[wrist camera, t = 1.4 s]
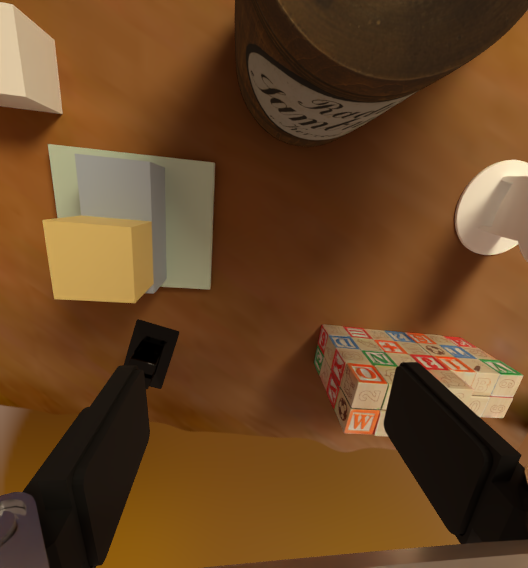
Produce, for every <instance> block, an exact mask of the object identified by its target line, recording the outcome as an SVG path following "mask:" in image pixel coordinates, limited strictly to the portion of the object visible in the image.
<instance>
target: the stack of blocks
mask: <svg viewBox="0 0 528 568" xmlns="http://www.w3.org/2000/svg"><path fill="white" fill-rule="evenodd" d="M402 362H418V363H420V364H421V365H422V366H423V367H424V368H426V369H427V370H428V371H429V372H430V373H431V374H432V375H433V376H434V377H435V378H437V379H438V380H439V381H440V382H441V383H442V384H443V385H444V386H445V387H447V388H448V389H449V390H450V391H451V392H452V393H453V394H454V395H455V396H457V397H458V398H459V399H460V400H461V401H462V402H463V403H464V404H465V405H467V406H468V407H469V408H470V409H471V410H472V411H473V412H474V413H475V414H476V415H478V416H479V417H492V418H503V417H504V416H505V414H506V411H507V409H508V408H509V406H510V404H511V402H512V400H513V396H514V394H515V392H516V390H517V388H518V386H519V384H520V382H521V380H522V378H523V375H522V374H521V373H519V372H518V371H516V370H514V369H513V368H511V367H510V366H508V365H506V364H505V363H503V362H501V361H499V360H496V359H495V358H493V357H492V356H490V355H489V354H487V353H486V352H484V351H482V350H481V349H479V348H477V347H475V346H474V345H472V344H471V343H469V342H467V341H466V340H464V339H462V338H460V337H447V336H441V335H431V334H421V333H411V332H404V333H403V332H394V331H382V330H370V329H363V328H354V327H342V326H335V325H324V324H323V325H322V326H321V330H320V335H319V340H318V346H317V350H316V355H315V359H314V365H315V367H316V370H317V372H318V374H319V376H320V378H321V381H322V383H323V385H324V388H325V390H326V393H327V396H328V398H329V400H330V403H331V404H332V407H333V409H334V411H335V413H336V415H337V417H338V420H339V422H340V425H341V427H342V429H343V432H344V433H349V434H374V435H375V436H388V435H387V433H386V432H385V429H384V418H385V413H386V409H387V405H388V400H389V396H390V391H391V387H392V383H393V378H394V374H395V370H396V367H398V366H399V365H400V364H401V363H402Z"/></svg>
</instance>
